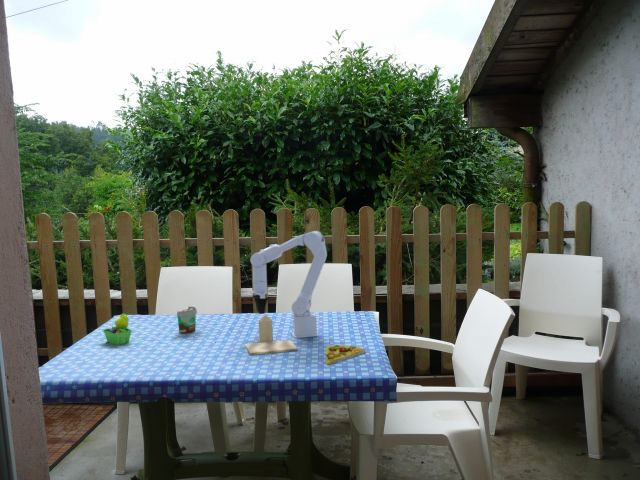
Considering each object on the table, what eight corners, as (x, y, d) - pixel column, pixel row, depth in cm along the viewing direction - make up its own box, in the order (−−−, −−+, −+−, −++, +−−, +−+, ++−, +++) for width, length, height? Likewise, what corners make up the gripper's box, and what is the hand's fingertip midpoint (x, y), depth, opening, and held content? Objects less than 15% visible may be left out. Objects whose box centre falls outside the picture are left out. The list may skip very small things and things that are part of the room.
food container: (191, 335, 241) (189, 312, 241) (177, 334, 243) (176, 311, 242) (202, 328, 253) (201, 306, 253) (189, 328, 255) (188, 306, 254)
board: (290, 341, 225) (290, 339, 225) (297, 350, 212) (297, 348, 212) (245, 346, 221) (245, 344, 221) (249, 355, 208) (249, 353, 208)
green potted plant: (102, 341, 234) (101, 315, 233) (122, 337, 240) (121, 311, 239) (115, 346, 226) (114, 318, 225) (136, 341, 232) (134, 314, 231)
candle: (259, 339, 230) (258, 315, 229) (273, 339, 230) (272, 315, 229) (259, 343, 224) (258, 318, 224) (273, 342, 225) (272, 318, 224)
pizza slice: (367, 352, 209) (366, 344, 209) (347, 368, 190) (347, 360, 190) (328, 349, 215) (328, 341, 215) (306, 364, 196) (305, 356, 196)
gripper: (248, 279, 243) (249, 310, 244) (252, 283, 229) (253, 316, 230) (264, 278, 245) (265, 308, 246) (269, 282, 231) (270, 315, 232)
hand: (260, 312), depth 238 cm, fingers open, 4 cm apart
